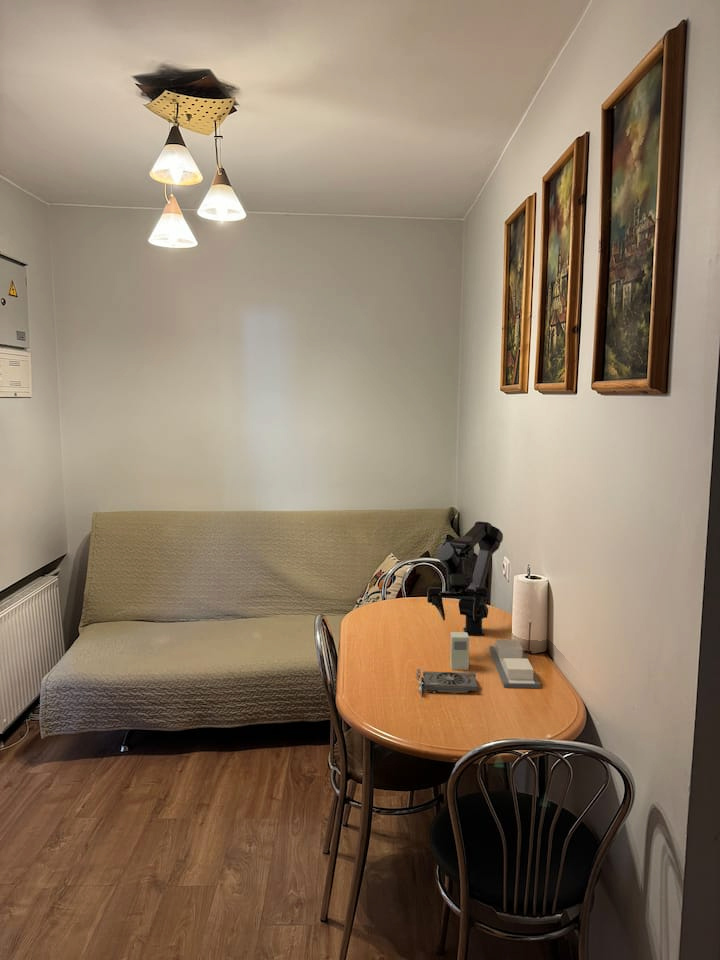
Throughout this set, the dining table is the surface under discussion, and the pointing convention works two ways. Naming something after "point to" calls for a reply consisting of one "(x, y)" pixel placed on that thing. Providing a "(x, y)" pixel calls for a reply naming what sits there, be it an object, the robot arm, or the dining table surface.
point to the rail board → (513, 665)
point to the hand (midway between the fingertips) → (459, 620)
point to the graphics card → (447, 682)
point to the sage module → (459, 651)
